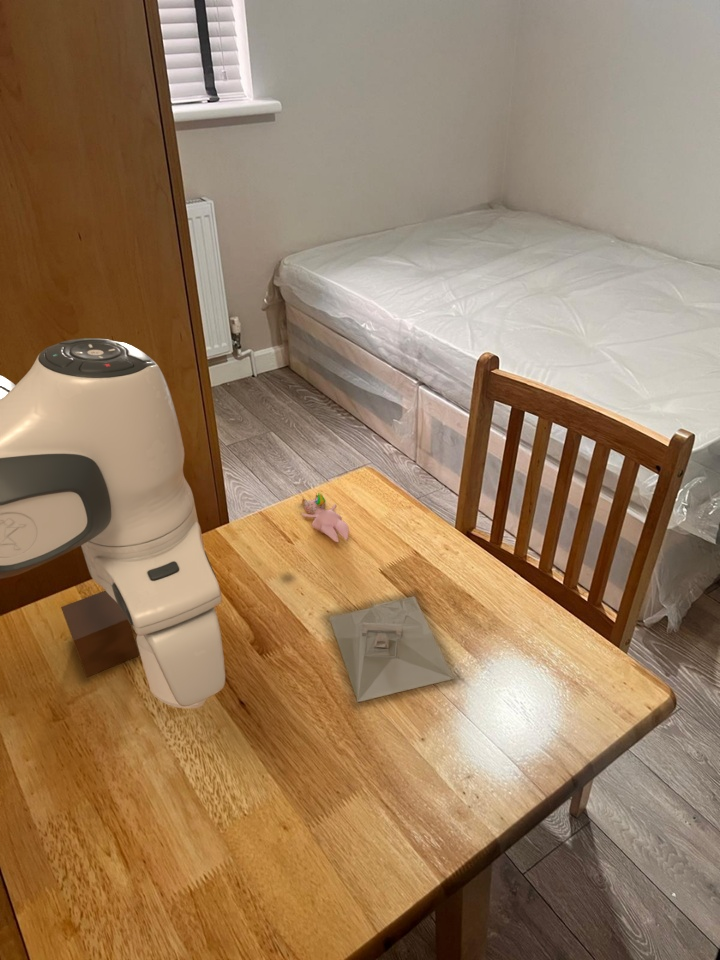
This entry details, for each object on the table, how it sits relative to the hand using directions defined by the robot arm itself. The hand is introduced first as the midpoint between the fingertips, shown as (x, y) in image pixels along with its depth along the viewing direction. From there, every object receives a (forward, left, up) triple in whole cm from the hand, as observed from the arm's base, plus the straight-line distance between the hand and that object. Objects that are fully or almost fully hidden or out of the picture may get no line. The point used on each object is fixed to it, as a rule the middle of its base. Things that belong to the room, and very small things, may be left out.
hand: (173, 660), depth 65 cm
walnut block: (-3, +30, -25) cm, 40 cm away
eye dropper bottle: (0, 0, -5) cm, 5 cm away
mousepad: (+29, +15, -25) cm, 41 cm away
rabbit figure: (+35, +37, -25) cm, 57 cm away
